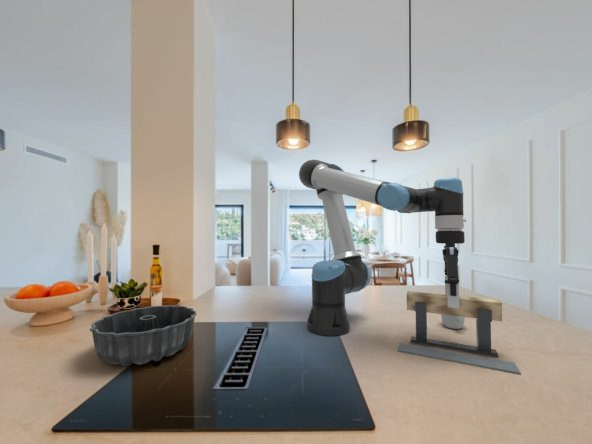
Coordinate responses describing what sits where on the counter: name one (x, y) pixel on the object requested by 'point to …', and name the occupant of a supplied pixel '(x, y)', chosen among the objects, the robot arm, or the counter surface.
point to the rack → (482, 343)
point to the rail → (466, 308)
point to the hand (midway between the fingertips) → (451, 301)
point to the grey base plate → (459, 358)
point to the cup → (452, 321)
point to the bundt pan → (142, 334)
